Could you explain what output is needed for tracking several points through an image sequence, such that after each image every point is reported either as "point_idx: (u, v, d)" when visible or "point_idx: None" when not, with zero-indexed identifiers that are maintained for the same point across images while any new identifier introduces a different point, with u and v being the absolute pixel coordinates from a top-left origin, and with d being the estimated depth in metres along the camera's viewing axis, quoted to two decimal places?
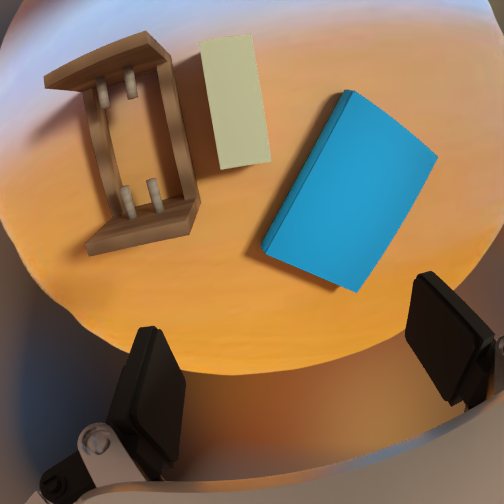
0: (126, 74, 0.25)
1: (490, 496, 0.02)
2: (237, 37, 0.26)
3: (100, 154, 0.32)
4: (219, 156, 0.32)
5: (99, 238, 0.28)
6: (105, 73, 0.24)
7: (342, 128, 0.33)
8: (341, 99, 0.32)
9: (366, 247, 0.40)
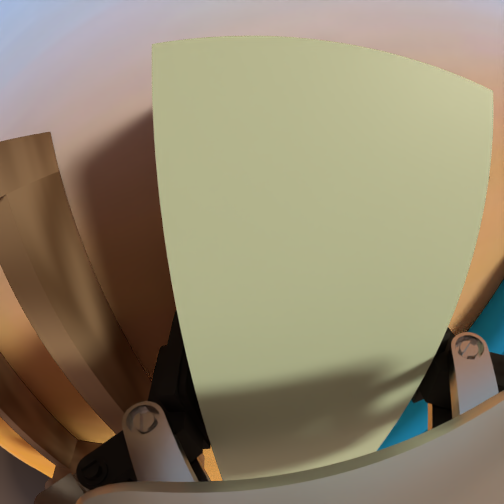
0: None
1: (490, 496, 0.02)
2: (438, 81, 0.03)
3: None
4: None
5: None
6: None
7: None
8: None
9: None
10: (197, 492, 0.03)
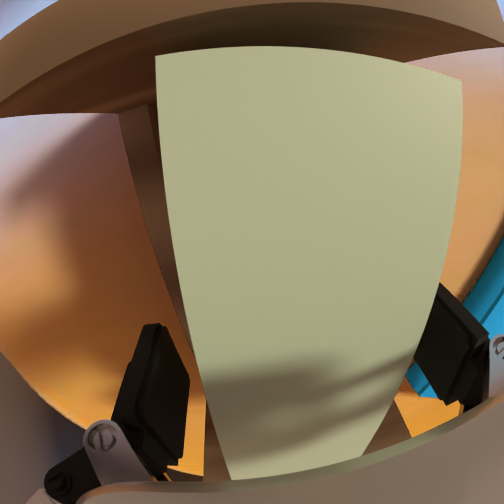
0: None
1: (490, 496, 0.02)
2: (405, 75, 0.04)
3: None
4: (233, 474, 0.10)
5: None
6: None
7: None
8: None
9: None
10: (197, 492, 0.03)
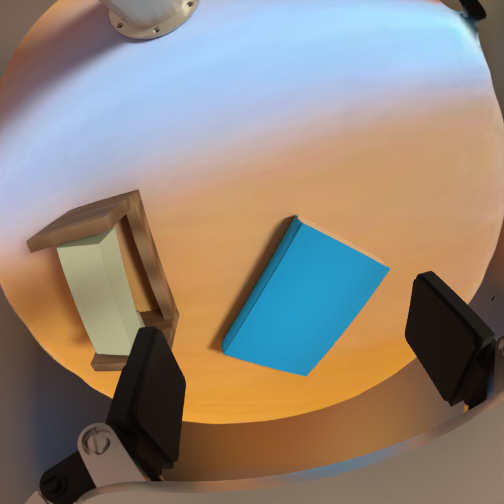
0: None
1: (490, 496, 0.02)
2: (87, 247, 0.28)
3: None
4: (93, 345, 0.33)
5: (101, 360, 0.35)
6: None
7: (288, 260, 0.39)
8: (291, 228, 0.39)
9: (312, 346, 0.46)
10: (197, 492, 0.03)
